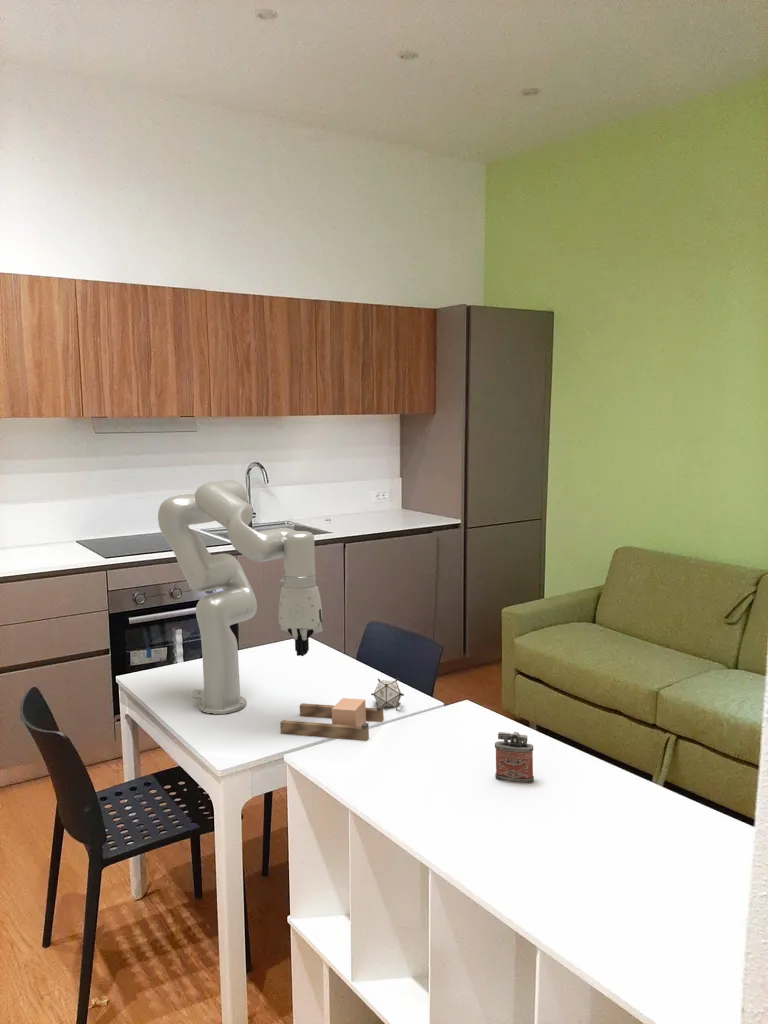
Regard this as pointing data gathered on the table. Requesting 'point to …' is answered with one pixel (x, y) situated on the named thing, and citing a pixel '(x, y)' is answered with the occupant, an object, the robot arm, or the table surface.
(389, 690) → the game die
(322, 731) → the chute
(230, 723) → the table surface
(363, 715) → the block
